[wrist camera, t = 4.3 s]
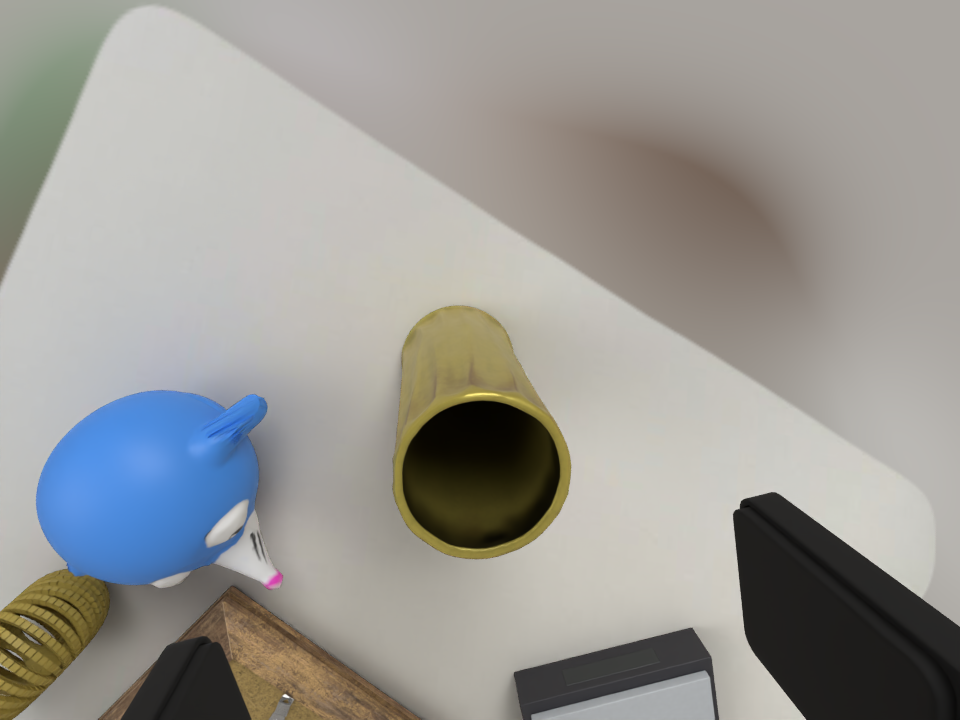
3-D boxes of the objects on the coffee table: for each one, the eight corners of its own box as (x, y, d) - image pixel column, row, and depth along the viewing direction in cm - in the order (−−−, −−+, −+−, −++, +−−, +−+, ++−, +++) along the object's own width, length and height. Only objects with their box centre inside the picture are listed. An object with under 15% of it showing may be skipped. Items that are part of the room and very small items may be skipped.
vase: (422, 427, 29) (414, 599, 16) (385, 324, 28) (341, 415, 14) (525, 394, 30) (609, 536, 16) (495, 290, 28) (558, 346, 14)
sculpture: (57, 656, 31) (-68, 799, 23) (-2, 614, 30) (-154, 748, 22) (154, 572, 30) (57, 690, 22) (96, 526, 29) (-25, 633, 21)
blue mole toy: (227, 601, 31) (154, 734, 23) (56, 465, 28) (-97, 561, 20) (377, 471, 30) (357, 561, 22) (214, 317, 27) (122, 354, 19)
